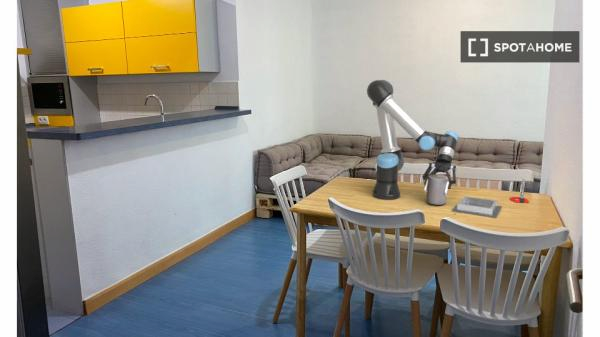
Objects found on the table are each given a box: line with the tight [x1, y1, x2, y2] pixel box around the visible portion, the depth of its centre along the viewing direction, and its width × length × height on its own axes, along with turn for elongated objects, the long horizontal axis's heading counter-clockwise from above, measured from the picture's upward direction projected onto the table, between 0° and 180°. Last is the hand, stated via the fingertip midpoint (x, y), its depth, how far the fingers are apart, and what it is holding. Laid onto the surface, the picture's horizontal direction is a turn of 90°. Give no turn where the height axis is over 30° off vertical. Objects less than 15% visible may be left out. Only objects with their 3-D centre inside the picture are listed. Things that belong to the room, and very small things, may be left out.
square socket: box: [451, 195, 503, 219], centre depth 203 cm, size 20×18×4 cm
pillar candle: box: [426, 173, 449, 206], centre depth 211 cm, size 10×10×15 cm
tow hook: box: [509, 178, 530, 204], centre depth 216 cm, size 8×13×9 cm
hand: (435, 192), depth 209 cm, fingers closed on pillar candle, 9 cm apart
